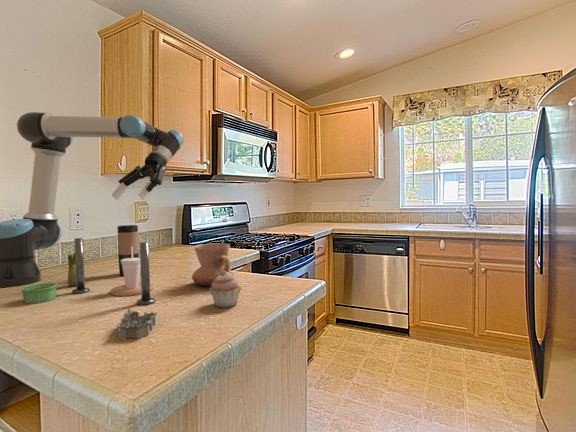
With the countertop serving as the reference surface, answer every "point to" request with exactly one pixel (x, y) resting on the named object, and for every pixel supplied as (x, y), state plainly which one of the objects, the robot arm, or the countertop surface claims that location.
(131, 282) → the smoothie
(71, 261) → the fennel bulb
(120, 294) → the coaster
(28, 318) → the countertop surface
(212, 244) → the ceramic jug
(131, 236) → the travel mug
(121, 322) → the grey castle model
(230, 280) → the cupcake
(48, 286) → the ramekin
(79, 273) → the rod gate
